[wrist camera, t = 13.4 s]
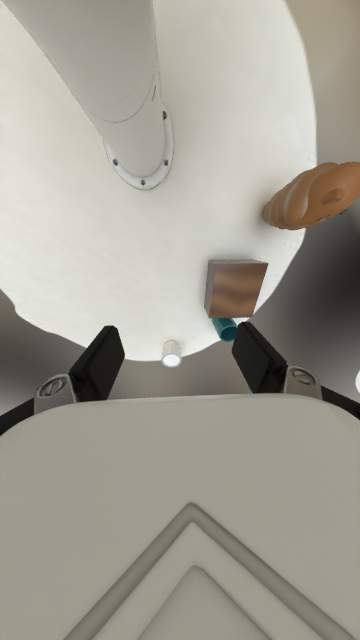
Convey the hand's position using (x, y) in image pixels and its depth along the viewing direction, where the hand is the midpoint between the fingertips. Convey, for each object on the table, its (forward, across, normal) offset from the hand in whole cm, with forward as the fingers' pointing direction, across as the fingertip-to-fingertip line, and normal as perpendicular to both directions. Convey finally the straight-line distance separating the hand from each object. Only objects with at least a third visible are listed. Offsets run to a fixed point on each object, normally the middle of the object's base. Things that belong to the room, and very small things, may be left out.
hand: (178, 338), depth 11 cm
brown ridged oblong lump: (+31, -22, -12) cm, 39 cm away
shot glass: (+31, +2, +28) cm, 41 cm away
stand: (+30, -15, +5) cm, 34 cm away
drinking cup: (+26, -15, +14) cm, 33 cm away
